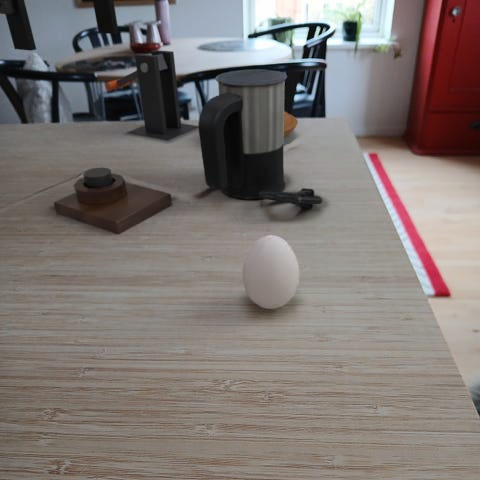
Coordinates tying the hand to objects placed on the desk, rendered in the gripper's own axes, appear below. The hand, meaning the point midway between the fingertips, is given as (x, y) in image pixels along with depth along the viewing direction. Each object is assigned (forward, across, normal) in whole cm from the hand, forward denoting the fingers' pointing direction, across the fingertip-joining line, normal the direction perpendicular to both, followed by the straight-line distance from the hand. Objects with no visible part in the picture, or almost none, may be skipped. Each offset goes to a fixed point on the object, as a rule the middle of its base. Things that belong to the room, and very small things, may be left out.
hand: (69, 40), depth 58 cm
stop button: (+17, 0, 0) cm, 17 cm away
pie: (+20, +32, -3) cm, 38 cm away
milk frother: (+20, +14, -18) cm, 31 cm away
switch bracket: (+20, +28, +14) cm, 37 cm away
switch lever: (+11, +28, +18) cm, 35 cm away
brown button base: (+20, 0, -2) cm, 20 cm away
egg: (+20, -8, -32) cm, 39 cm away
